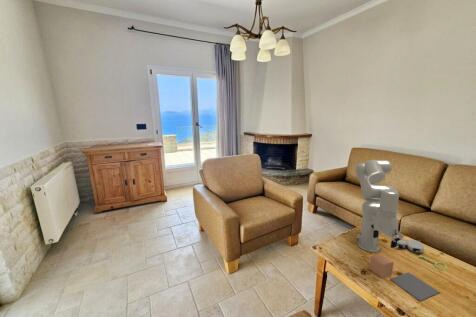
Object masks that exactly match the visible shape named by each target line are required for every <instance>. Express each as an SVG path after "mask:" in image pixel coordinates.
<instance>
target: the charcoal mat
mask: <svg viewBox="0 0 476 317" xmlns="http://www.w3.org/2000/svg"><path fill="white" fill-rule="evenodd" d="M389 281H391V282H392V283H394V284H395V285H396V286H397V287H399V288H400V289H401V290H403V291H405V292H406V293H407V294H409V295H410V296H412V298H414V299H416V300H417V301H419V302H420V303H421V302H423V301H424V300H428V299H429V298H432V297H434V296H437V295H439V294H440V293H441V292H440V291H439V290H437V289H435V288H434V287H432V286H431V285H430V284H428V283H426V282H425V281H422V280H421V279H420V278H418V277H417V276H416V275H414V274H412V273H410V272H409V271H407V272H406V273H405V272H404V273H402V274H399V275H397V276H394V277H392V278H390V279H389Z"/></svg>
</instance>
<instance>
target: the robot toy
mask: <svg viewBox="0 0 476 317" xmlns="http://www.w3.org/2000/svg"><path fill="white" fill-rule="evenodd" d="M424 247H425V246H424V245H423V243H421V241H419V240H413V239H408V240H403V239H402V240H399V241H397V246H396V247H395V248H396V249H406V248H407V249H408V250H410V251H411V252H412V253H413V252H414V253H416V254H417V253H420V254H421V253H424V252H426V250H424V249H425V248H424Z"/></svg>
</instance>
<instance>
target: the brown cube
mask: <svg viewBox="0 0 476 317" xmlns="http://www.w3.org/2000/svg"><path fill="white" fill-rule="evenodd" d="M393 268H394V261H393V260H391V259H390V258H389V257H387V256H385V255H384V254H382V253H378V254H373V255H371V256H370V260H369V270H371V271H372V272H373V273H374V274H376V275H377V276H378V277H380V278H381V279H383V278H386V277H389V276H392V275H393Z"/></svg>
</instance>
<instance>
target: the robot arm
mask: <svg viewBox="0 0 476 317" xmlns="http://www.w3.org/2000/svg"><path fill="white" fill-rule="evenodd" d="M354 170H355V175H356V177H357V179H358V182H359V184H360V189H361V195H362V198H363V200H364V201H363V202H362V206H361V208H362V210H361V211H362V212H361V213H362V221H361V222H362V224H361V231H360V233H358V234H357V235H356V237H355V238H357V239H358V241H357V246H358V247H359V248H360V249H362V250H363V251H365V252H368V253H379V252H380V250H381V247H380V245H379V244H378V243H379V236H380V233H381V234H383V235H384V236H387V237H390V238H391V241H390V248H391V249H395V248H396V246H397V241H399V240H403V239H404V238H405V237H404V235H403V234H402V233H401V232H400V231H399V222H398V221H399V219H398V217H397V216H398V215H397V214H398V206H399V198H400V193H399V192H398V190H397V188H396V187H395V186H393V185H386V184H385V185H384V184H378V183H381V182H383V181H384V180H385V179H386V175H388V174H390V173H391V172H392V170H393V165H392V163H391V162H390V161H389V160H387V159H368V160H367V161H365V162H359V163H357V164H356V165H355V168H354Z"/></svg>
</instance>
